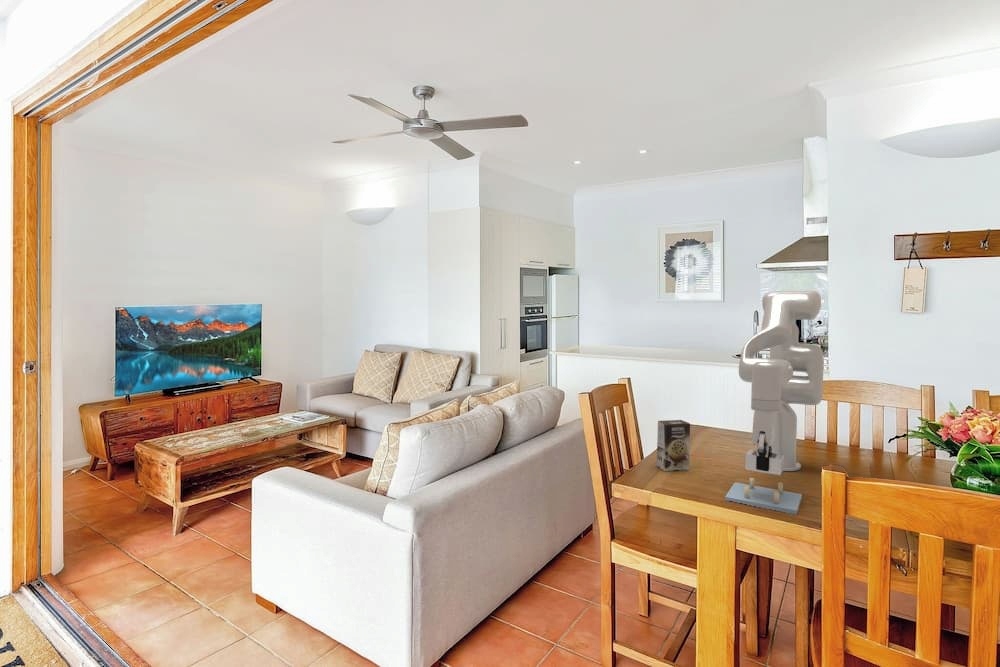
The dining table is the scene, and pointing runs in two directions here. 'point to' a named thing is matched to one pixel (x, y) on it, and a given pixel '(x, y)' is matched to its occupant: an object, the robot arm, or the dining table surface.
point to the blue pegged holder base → (765, 497)
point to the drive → (774, 462)
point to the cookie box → (673, 445)
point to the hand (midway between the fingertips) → (764, 466)
